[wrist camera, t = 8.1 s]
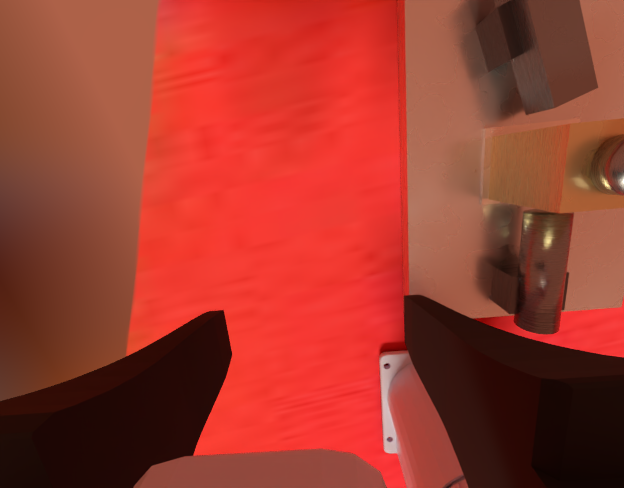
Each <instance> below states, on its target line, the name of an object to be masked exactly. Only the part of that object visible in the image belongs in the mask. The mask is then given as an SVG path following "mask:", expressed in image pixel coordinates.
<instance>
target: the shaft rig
mask: <svg viewBox="0 0 624 488" xmlns="http://www.w3.org/2000/svg"><path fill="white" fill-rule="evenodd" d="M397 24H398V71H399V119H400V166H401V213H402V261H403V308H404V296H405V295H418V294H420V295H423V296H425V297H428V298H430V299H432V300H434V301H436V302H438V303H440V304H442V305H444V306H446V307H448V308H450V309H452V310H454V311H456V312H459V313H461V314H463V315H465V316H467V317H470V318H485V317H498V316H511V315H514V323H515V324H516V325H517V326H518V327H520V328H522V329H524V330H526V331H529V332H533V333H538V334H554V333H556V332H558V331H559V326H560V318H561V312H564V311H577V310H590V309H603V308H616V307H621V306H622V301H623V296H624V208H616V209H605V210H593V211H582V212H570V213H555V212H550V211H545V210H540V209H534V208H529V207H524V206H519V205H514V204H509V203H504V202H499V201H494V200H489V184H490V167H491V151H492V137H494V136H499V135H505V134H511V133H517V132H523V131H529V130H535V129H541V128H547V127H553V126H559V125H565V124H571V123H581V122H591V121H601V120H611V119H621V118H624V0H397Z"/></svg>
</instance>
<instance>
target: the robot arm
mask: <svg viewBox="0 0 624 488" xmlns="http://www.w3.org/2000/svg"><path fill="white" fill-rule="evenodd" d="M404 328H405V344H406V347H407V350H406V351H392V352H383V353H382V354H381V355H380V356H379V365H380V386H381V407H382V429H383V447H384V450H385V452H387V453H397V454H398V457H399V461H400V464H401V468H402V472H403V475H404V479H405V483H406V486H407V488H624V358H622V357H615V356H608V355H601V354H596V353H590V352H585V351H580V350H574V349H569V348H565V347H560V346H556V345H552V344H548V343H544V342H540V341H536V340H532V339H528V338H525V337H522V336H518V335H515V334H512V333H509V332H506V331H503V330H500V329H497V328H494V327H492V326H489V325H486V324H484V323H481V322H479V321H477V320H474V319H472V318H470V317H467V316H465V315H463V314H461V313H459V312H456V311H454V310H452V309H450V308H448V307H446V306H444V305H442V304H440V303H438V302H436V301H434V300H432V299H430V298H428V297H425V296H423V295H420V294H418V295H405V296H404ZM231 357H232V351H231V346H230V341H229V335H228V330H227V325H226V320H225V315H224V310H220V311H209V312H206V313H204V314H202V315H200V316H198V317H196V318H195V319H193V320H191V321H190V322H188V323H186V324H184V325H183V326H181V327H179V328H178V329H176V330H174V331H173V332H171V333H169V334H168V335H166V336H164V337H162V338H161V339H159V340H157V341H155V342H154V343H152V344H150V345H148V346H146V347H145V348H143V349H141V350H139V351H137V352H135V353H133V354H131V355H129V356H127V357H125V358H122V359H120V360H118V361H116V362H114V363H111V364H109V365H107V366H104V367H102V368H99V369H97V370H94V371H92V372H89V373H87V374H84V375H82V376H79V377H77V378H74V379H71V380H68V381H66V382H63V383H60V384H57V385H54V386H51V387H48V388H45V389H41V390H38V391H35V392H32V393H28V394H25V395H22V396H18V397H14V398H11V399H7V400H3V401H0V488H387V487H386V485H385V482H384V480H383V477H382V475H381V473H380V471H378V470H377V469H376V468H374V467H373V466H371V465H370V464H368V463H367V462H365V461H364V460H362V459H361V458H359V457H358V456H356V455H355V454H353V453H349V452H342V451H335V450H329V449H304V450H287V451H269V452H252V453H234V454H217V455H199V456H193V454H194V451H195V448H196V445H197V442H198V440H199V437H200V435H201V432H202V430H203V428H204V425H205V423H206V421H207V419H208V416H209V414H210V412H211V410H212V407H213V405H214V403H215V401H216V399H217V396H218V394H219V392H220V389H221V387H222V385H223V383H224V380H225V378H226V375H227V371H228V368H229V364H230V361H231ZM386 363H389V365H387V366H384V364H386ZM388 437H390V438H388Z"/></svg>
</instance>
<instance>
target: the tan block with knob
mask: <svg viewBox="0 0 624 488" xmlns="http://www.w3.org/2000/svg"><path fill="white" fill-rule="evenodd" d="M489 200H494V201H499V202H504V203H509V204H514V205H519V206H524V207H529V208H534V209H540V210H545V211H550V212H555V213H570V212H582V211H593V210H605V209H616V208H624V118H621V119H611V120H601V121H591V122H581V123H571V124H565V125H559V126H553V127H547V128H541V129H535V130H529V131H523V132H517V133H511V134H505V135H499V136H494V137H492V151H491V167H490V184H489Z"/></svg>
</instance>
